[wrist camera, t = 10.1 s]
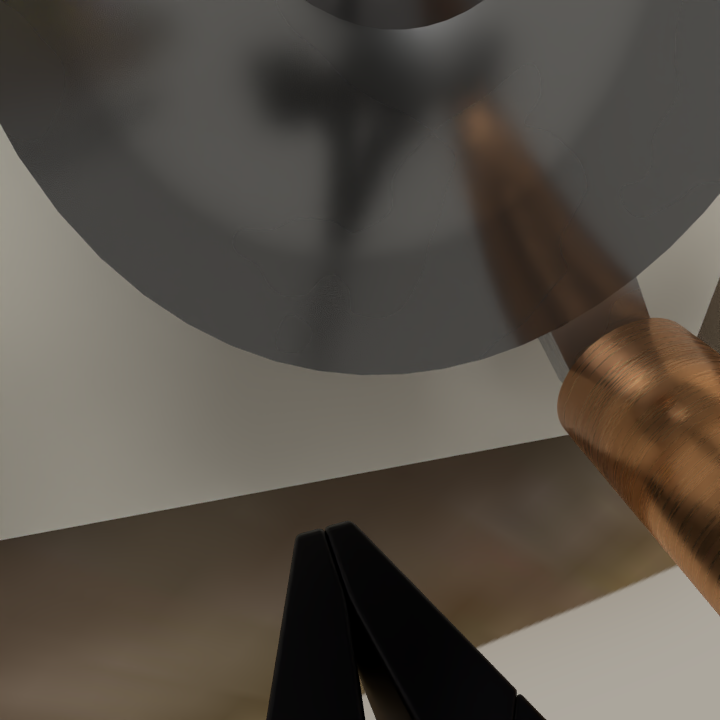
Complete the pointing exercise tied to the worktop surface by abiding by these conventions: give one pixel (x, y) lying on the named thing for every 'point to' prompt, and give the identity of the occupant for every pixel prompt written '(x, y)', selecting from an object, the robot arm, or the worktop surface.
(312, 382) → the stand
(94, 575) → the worktop surface
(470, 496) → the worktop surface
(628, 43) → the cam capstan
